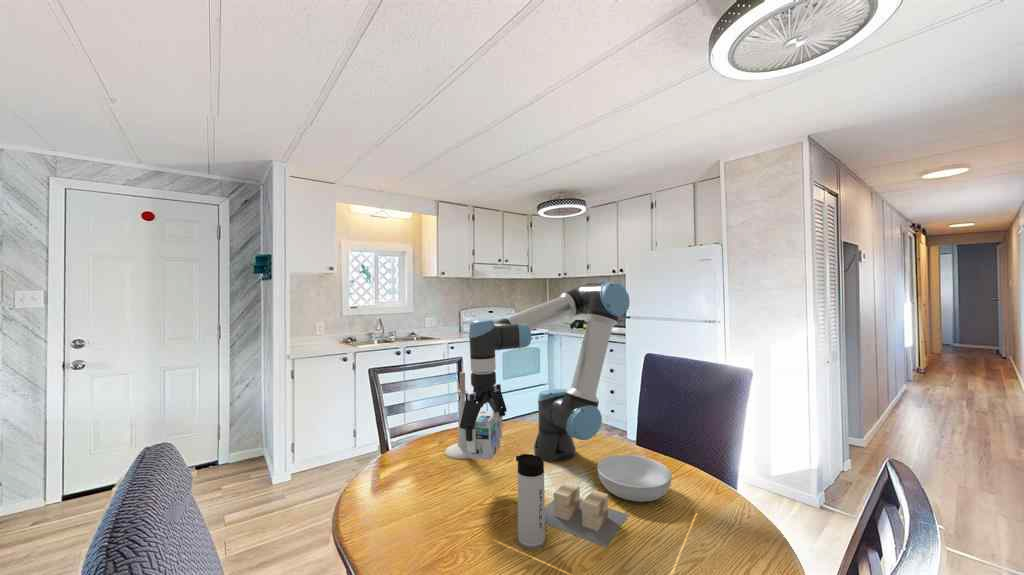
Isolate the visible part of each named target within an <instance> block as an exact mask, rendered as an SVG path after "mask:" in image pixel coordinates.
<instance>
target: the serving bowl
mask: <svg viewBox="0 0 1024 575" xmlns="http://www.w3.org/2000/svg"><path fill="white" fill-rule="evenodd" d="M596 465H597V467H596V469H597V474H598V478H599V480H600V482H601V484H602V486H604V488H605V489H606V490H607V491H608V492H610V493H611V494H612V495H614V496H616V497H618V498H620V499H623V500H626V501H630V502H636V503H637V502H638V503H639V502H640V503H645V502H652V501H656V500H658V499H660V498H662V497H664V495H666V494H667V492H669V489H670V487H671V483H672V478H673V477H672V475H673V474H672V472H671V471H670V469H669V468H668V467H667V466H665V465H664V464H663V463H661V462H659V461H658V460H657V461H656V460H655V459H652V458H648V457H646V456H645V457H644V456H641V455H636V454H635V455H633V454H613V455H609V456H606V457H603V458H602V459H600V460H599V462H598V463H597V464H596Z"/></svg>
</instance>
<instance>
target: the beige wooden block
mask: <svg viewBox="0 0 1024 575" xmlns="http://www.w3.org/2000/svg"><path fill="white" fill-rule="evenodd" d="M580 493H581V492H580V485H578V484H574V483H571V482H568V481H566V482H564V483H563V484H562V485H561V486H559V487H558V489H556V490H555V491H554V492H553V500H554V516H556V517H559V518H562V519H565V520H567V521H568V520H569V519H570V518H571V517H572V516H573V515H574V514H575V513H576V512H577V511H578V510H579V509H580V499H581V498H580Z"/></svg>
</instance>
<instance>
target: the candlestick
mask: <svg viewBox="0 0 1024 575" xmlns="http://www.w3.org/2000/svg"><path fill="white" fill-rule="evenodd" d="M457 392H458V396H459V414H458V415H459V416H458V433H457V434H458V436H457V443H454V444H452V445H450V446H447V448H446V449H445V456H446V457H447V458H450V459H452V460H468V459H471V456H470V452H469V451H467V441H466V430H465V429H461V428H460V423H461V419H462V414H463V410H464V406H465V401H466V393H467V392H468V389H466V372H463V371H460V372H459V389H458V390H457Z"/></svg>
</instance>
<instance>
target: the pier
mask: <svg viewBox="0 0 1024 575" xmlns="http://www.w3.org/2000/svg"><path fill="white" fill-rule="evenodd" d="M582 500H583V501H582V526H584V527H587V528H590V529H592V530H595V531H598V530H599V529H600V527H601V526H602V525H603V524H604V522H605V521H606V520H607V519H608V508H609V494H608V493H604V492H601V491H598V490H595V489H593V490H592V491H591V492H590V493H589V494H588V495H587V496H586V497H585V498H584V499H582Z"/></svg>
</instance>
